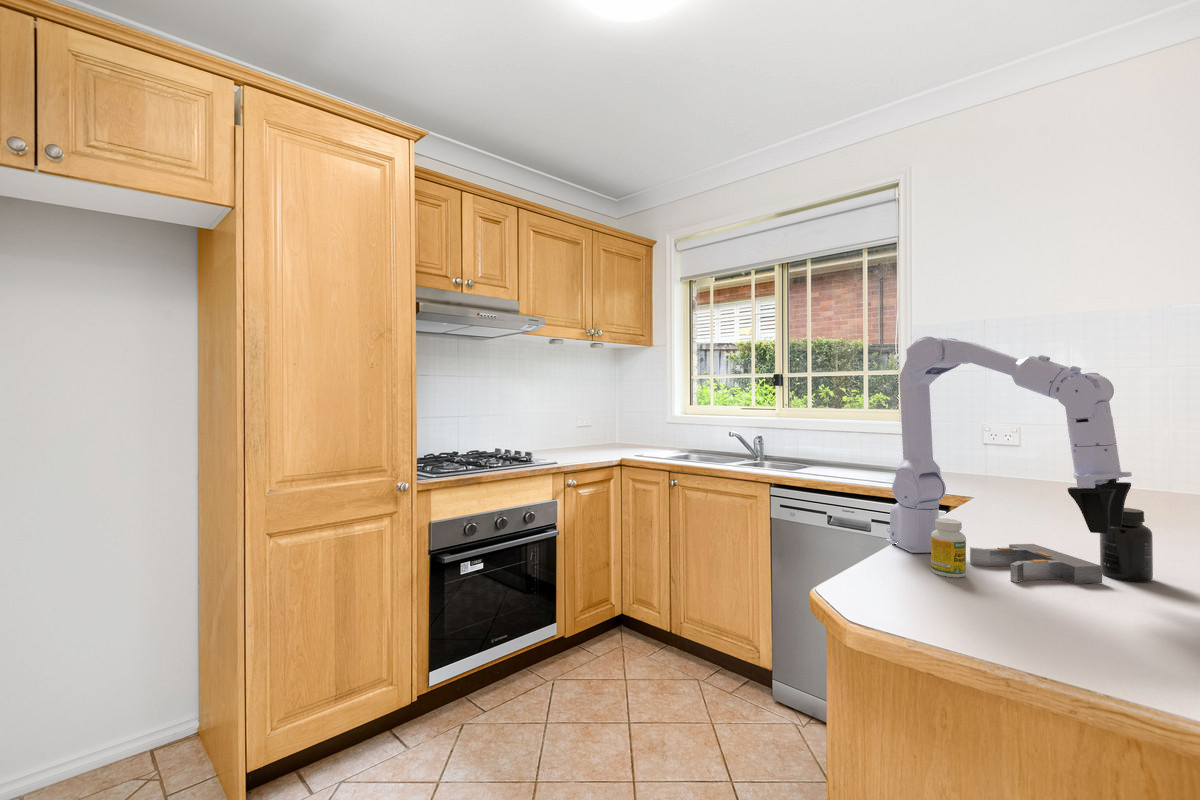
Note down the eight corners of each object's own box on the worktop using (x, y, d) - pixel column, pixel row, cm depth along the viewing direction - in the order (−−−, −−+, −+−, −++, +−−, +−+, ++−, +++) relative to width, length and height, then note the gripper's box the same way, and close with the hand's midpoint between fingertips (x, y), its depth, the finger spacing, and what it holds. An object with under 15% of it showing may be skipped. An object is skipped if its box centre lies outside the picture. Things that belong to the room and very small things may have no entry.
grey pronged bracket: (962, 560, 108) (962, 544, 108) (1033, 559, 109) (1033, 542, 109) (1021, 585, 94) (1021, 566, 94) (1102, 583, 95) (1102, 564, 95)
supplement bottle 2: (1130, 571, 102) (1130, 505, 102) (1164, 584, 95) (1165, 514, 95) (1089, 570, 102) (1090, 505, 102) (1120, 582, 96) (1121, 513, 95)
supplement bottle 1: (939, 567, 104) (940, 516, 104) (971, 574, 100) (971, 521, 100) (925, 572, 101) (925, 519, 101) (957, 580, 97) (957, 525, 97)
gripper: (1113, 446, 84) (1127, 537, 83) (1137, 442, 93) (1150, 525, 91) (1055, 448, 90) (1068, 534, 89) (1083, 444, 98) (1095, 522, 97)
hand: (1106, 529), depth 90 cm, fingers open, 7 cm apart
